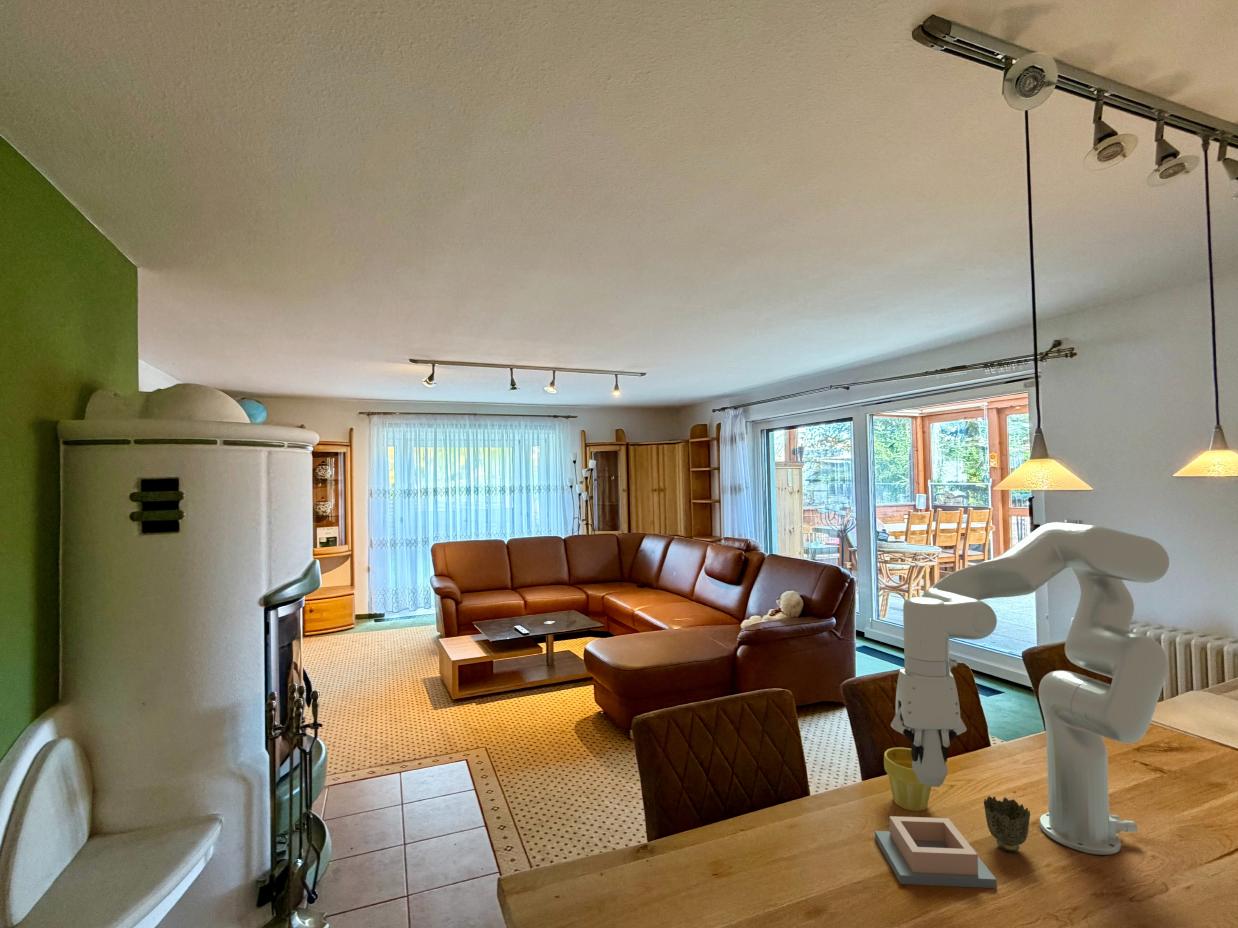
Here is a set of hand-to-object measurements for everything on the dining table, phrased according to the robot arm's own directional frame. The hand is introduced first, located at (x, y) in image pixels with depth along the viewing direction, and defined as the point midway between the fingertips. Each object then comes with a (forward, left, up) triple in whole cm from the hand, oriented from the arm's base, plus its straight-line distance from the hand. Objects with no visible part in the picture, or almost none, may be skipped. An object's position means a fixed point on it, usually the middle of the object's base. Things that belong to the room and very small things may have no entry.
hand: (929, 764), depth 110 cm
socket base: (0, 0, -18) cm, 18 cm away
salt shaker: (0, 0, -3) cm, 3 cm away
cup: (-16, -5, -18) cm, 25 cm away
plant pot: (-4, -20, -18) cm, 27 cm away
